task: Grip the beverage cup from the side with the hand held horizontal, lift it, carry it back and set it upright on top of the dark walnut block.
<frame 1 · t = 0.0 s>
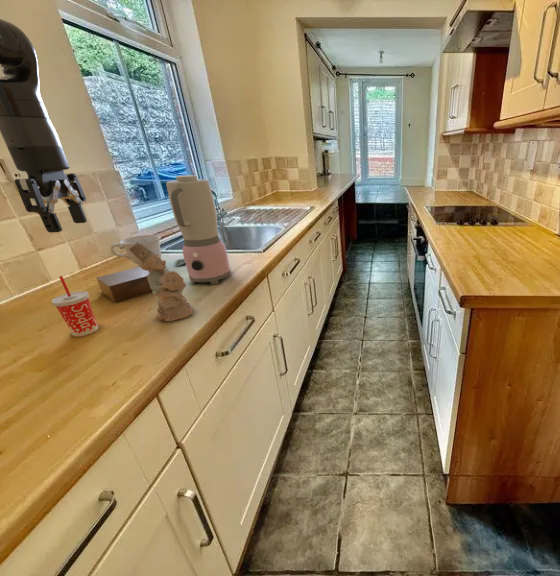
hand: (68, 227, 68), 24 cm above the worktop, tool pointing down, fingers open, 8 cm apart
walnut block: (131, 291, 96), on the worktop
build plate: (196, 261, 121), on the worktop
beverage cup: (86, 331, 75), on the worktop
blender: (209, 280, 103), on the worktop
figurine: (175, 315, 82), on the worktop
teacup: (144, 267, 115), on the worktop
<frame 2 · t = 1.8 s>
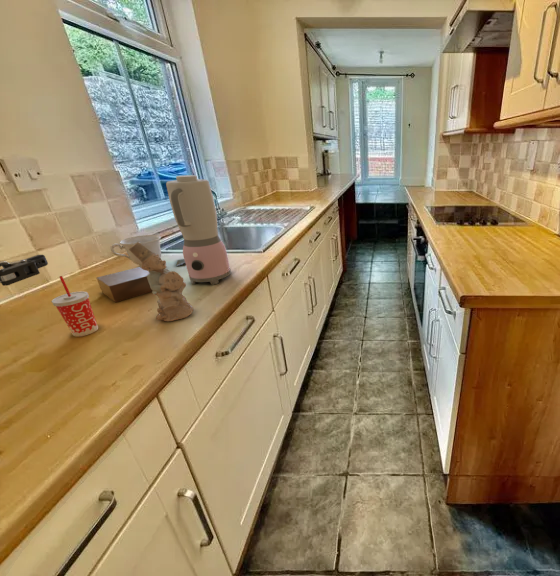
hand: (21, 260, 62), 20 cm above the worktop, tool horizontal, fingers open, 8 cm apart
nothing on the worktop moved.
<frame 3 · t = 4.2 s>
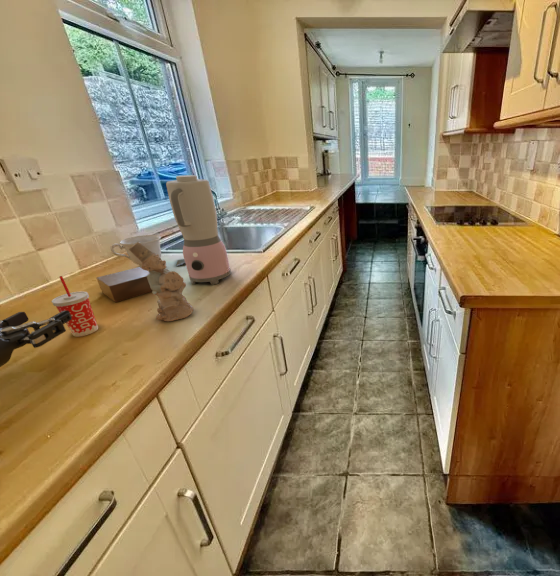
hand: (46, 315, 66), 8 cm above the worktop, tool horizontal, fingers open, 8 cm apart
nothing on the worktop moved.
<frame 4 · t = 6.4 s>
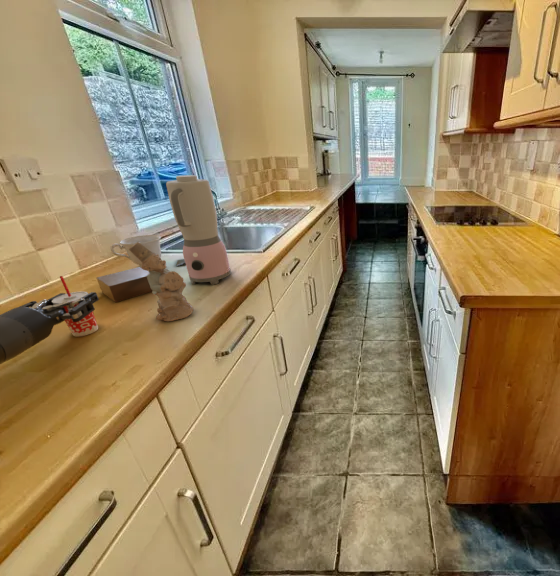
hand: (80, 296, 74), 8 cm above the worktop, tool horizontal, fingers closed on beverage cup, 6 cm apart
beverage cup: (86, 331, 75), on the worktop, touching gripper
everything else where it was.
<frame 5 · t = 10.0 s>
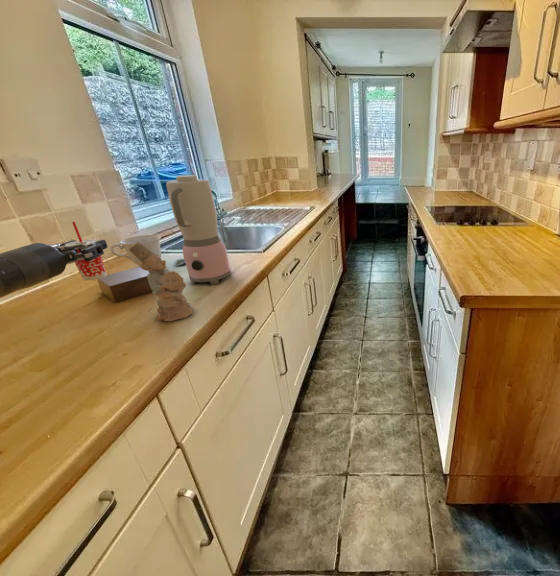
hand: (90, 243, 79), 18 cm above the worktop, tool horizontal, fingers closed on beverage cup, 6 cm apart
beverage cup: (95, 277, 81), point 9 cm above the worktop, touching gripper
everything else where it was.
when the fingers open (13 cm above the worktop, at t = 13.5 s): beverage cup stays where it is, resting on walnut block.
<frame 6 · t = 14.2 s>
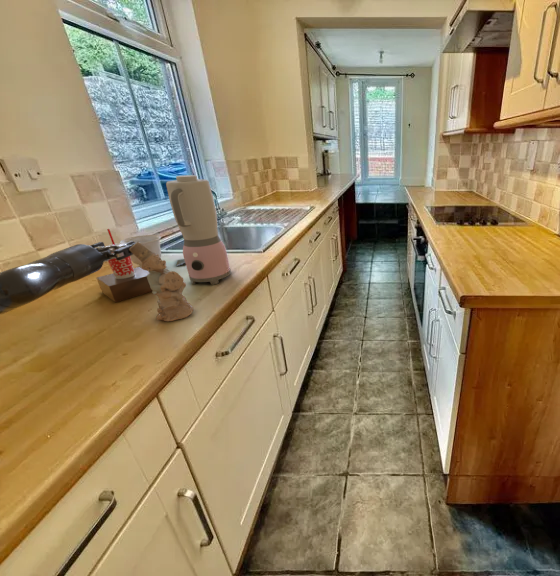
hand: (118, 244, 91), 14 cm above the worktop, tool horizontal, fingers open, 8 cm apart
beverage cup: (125, 276, 94), point 5 cm above the worktop, touching walnut block
everything else where it was.
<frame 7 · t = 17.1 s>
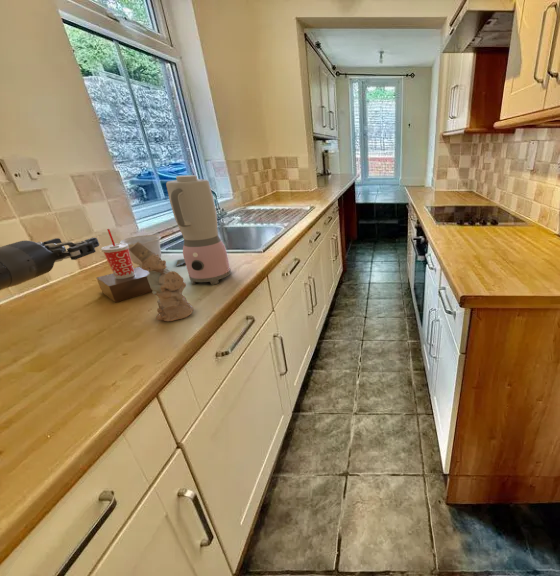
hand: (78, 241, 78), 18 cm above the worktop, tool horizontal, fingers open, 8 cm apart
nothing on the worktop moved.
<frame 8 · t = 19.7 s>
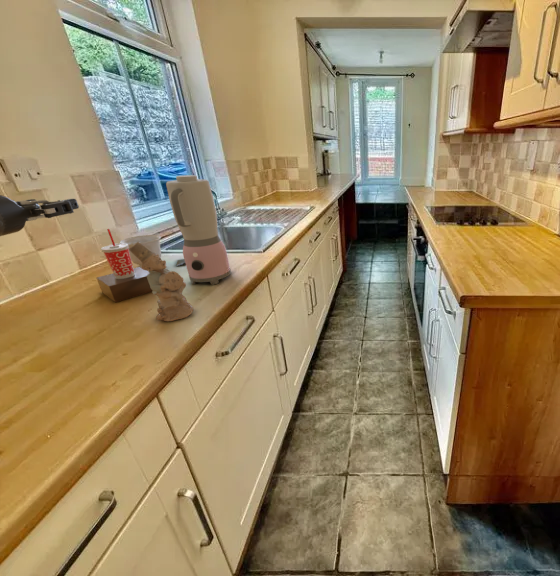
hand: (56, 203, 72), 28 cm above the worktop, tool horizontal, fingers open, 8 cm apart
nothing on the worktop moved.
at the end: beverage cup inside the target area on the walnut block (0.2 cm from its centre), point 4.8 cm above the walnut block's base; beverage cup tilted 0°; the gripper is holding nothing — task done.
